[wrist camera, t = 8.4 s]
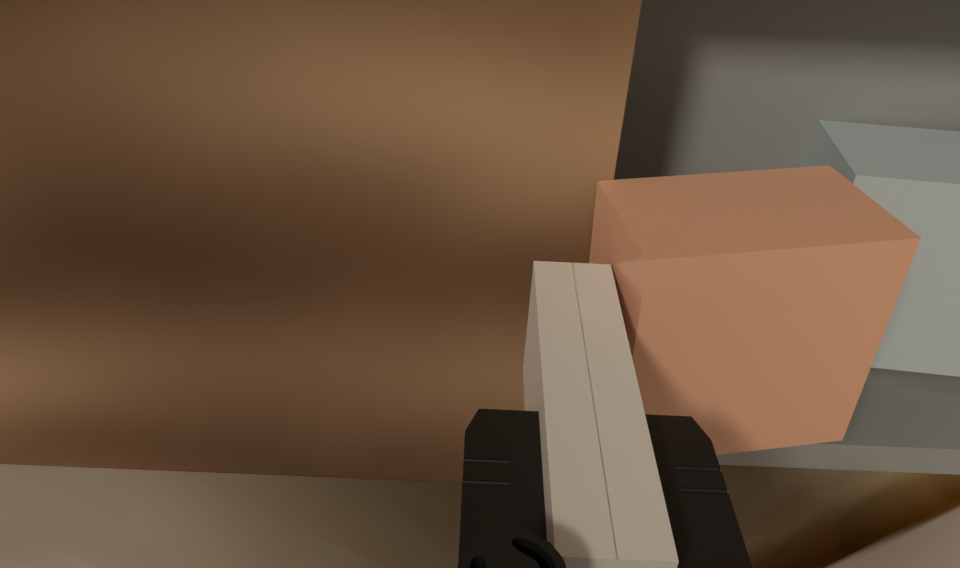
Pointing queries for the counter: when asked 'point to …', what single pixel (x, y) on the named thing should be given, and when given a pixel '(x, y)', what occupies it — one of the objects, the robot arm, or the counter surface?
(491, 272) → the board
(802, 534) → the counter surface
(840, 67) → the tray
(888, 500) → the counter surface
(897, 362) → the tile slate
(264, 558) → the counter surface
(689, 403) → the tile terracotta
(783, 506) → the counter surface
